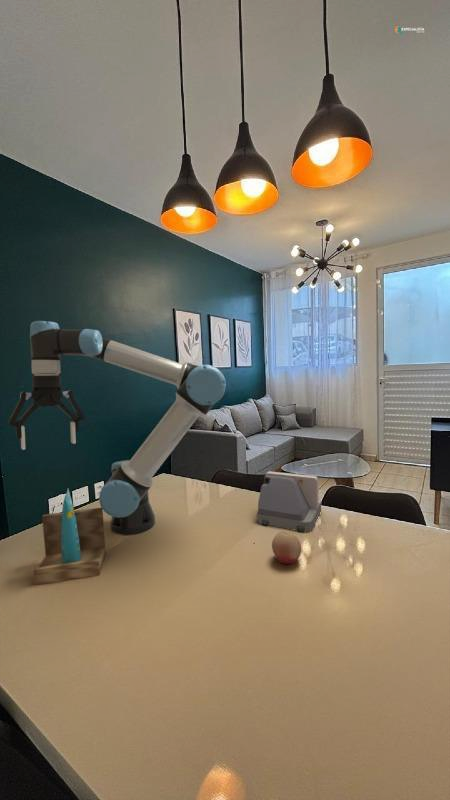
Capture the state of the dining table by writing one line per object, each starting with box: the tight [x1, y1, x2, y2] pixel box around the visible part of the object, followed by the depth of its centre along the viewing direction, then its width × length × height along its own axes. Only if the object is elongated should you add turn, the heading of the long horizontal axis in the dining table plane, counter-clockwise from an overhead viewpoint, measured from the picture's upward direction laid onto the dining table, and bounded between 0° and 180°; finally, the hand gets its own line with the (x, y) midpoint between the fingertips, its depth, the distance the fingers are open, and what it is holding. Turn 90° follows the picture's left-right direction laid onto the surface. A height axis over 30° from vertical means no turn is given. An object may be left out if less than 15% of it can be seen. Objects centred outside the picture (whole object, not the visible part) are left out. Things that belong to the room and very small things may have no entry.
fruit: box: [271, 531, 302, 565], centre depth 93 cm, size 8×8×8 cm
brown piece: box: [32, 507, 107, 586], centre depth 94 cm, size 16×12×14 cm
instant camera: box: [256, 470, 322, 532], centre depth 120 cm, size 21×21×15 cm
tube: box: [61, 489, 81, 564], centre depth 94 cm, size 7×5×19 cm, turn 25°
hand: (49, 445), depth 102 cm, fingers open, 13 cm apart
